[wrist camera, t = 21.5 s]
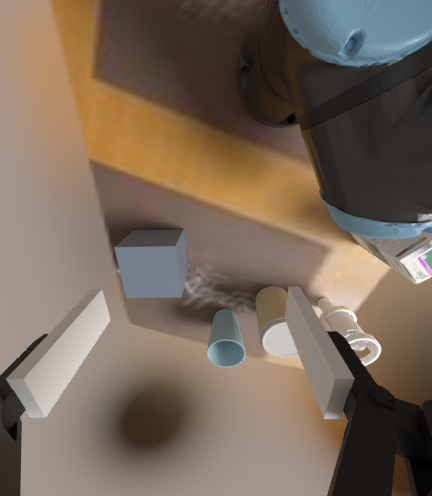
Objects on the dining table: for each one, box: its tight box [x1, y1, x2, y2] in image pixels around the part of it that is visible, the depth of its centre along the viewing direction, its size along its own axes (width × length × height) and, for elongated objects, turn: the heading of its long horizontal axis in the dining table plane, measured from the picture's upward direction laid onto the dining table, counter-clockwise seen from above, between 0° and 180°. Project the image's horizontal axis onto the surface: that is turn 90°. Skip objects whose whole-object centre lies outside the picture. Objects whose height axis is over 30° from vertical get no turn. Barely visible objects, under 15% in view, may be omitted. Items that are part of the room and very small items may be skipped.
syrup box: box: [350, 232, 432, 284], centre depth 36 cm, size 6×6×14 cm
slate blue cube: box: [114, 229, 188, 298], centre depth 42 cm, size 10×10×9 cm
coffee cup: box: [255, 286, 298, 358], centre depth 44 cm, size 9×9×12 cm
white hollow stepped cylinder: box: [318, 297, 381, 366], centre depth 43 cm, size 7×7×15 cm
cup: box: [207, 309, 245, 367], centre depth 48 cm, size 8×8×10 cm
